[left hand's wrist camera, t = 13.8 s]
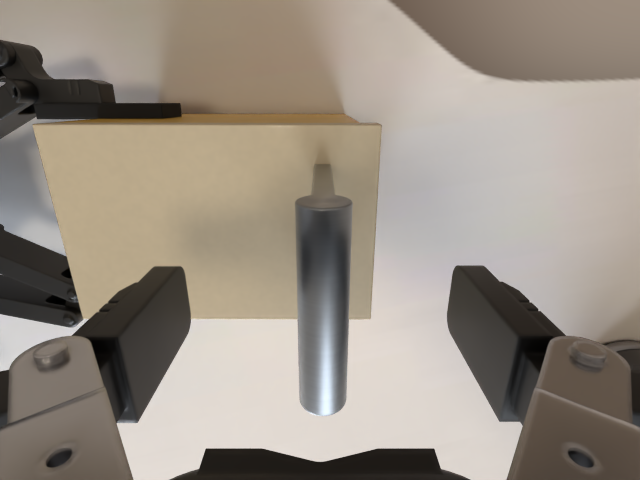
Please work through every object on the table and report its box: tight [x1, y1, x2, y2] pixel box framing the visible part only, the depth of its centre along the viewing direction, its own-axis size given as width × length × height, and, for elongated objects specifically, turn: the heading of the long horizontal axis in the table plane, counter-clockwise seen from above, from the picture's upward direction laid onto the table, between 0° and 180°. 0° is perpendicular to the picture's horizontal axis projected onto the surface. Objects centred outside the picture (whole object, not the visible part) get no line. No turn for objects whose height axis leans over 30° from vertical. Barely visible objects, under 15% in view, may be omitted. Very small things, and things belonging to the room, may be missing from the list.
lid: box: [33, 123, 381, 416], centre depth 13 cm, size 14×9×8 cm, turn 90°
